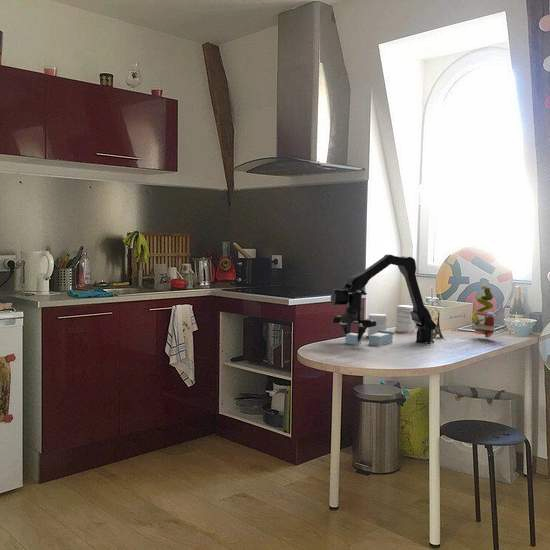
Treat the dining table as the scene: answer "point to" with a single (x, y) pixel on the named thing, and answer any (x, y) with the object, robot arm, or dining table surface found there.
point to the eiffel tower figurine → (438, 332)
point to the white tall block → (404, 319)
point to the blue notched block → (381, 338)
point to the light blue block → (352, 339)
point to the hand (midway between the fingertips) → (353, 341)
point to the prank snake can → (484, 314)
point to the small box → (377, 323)
